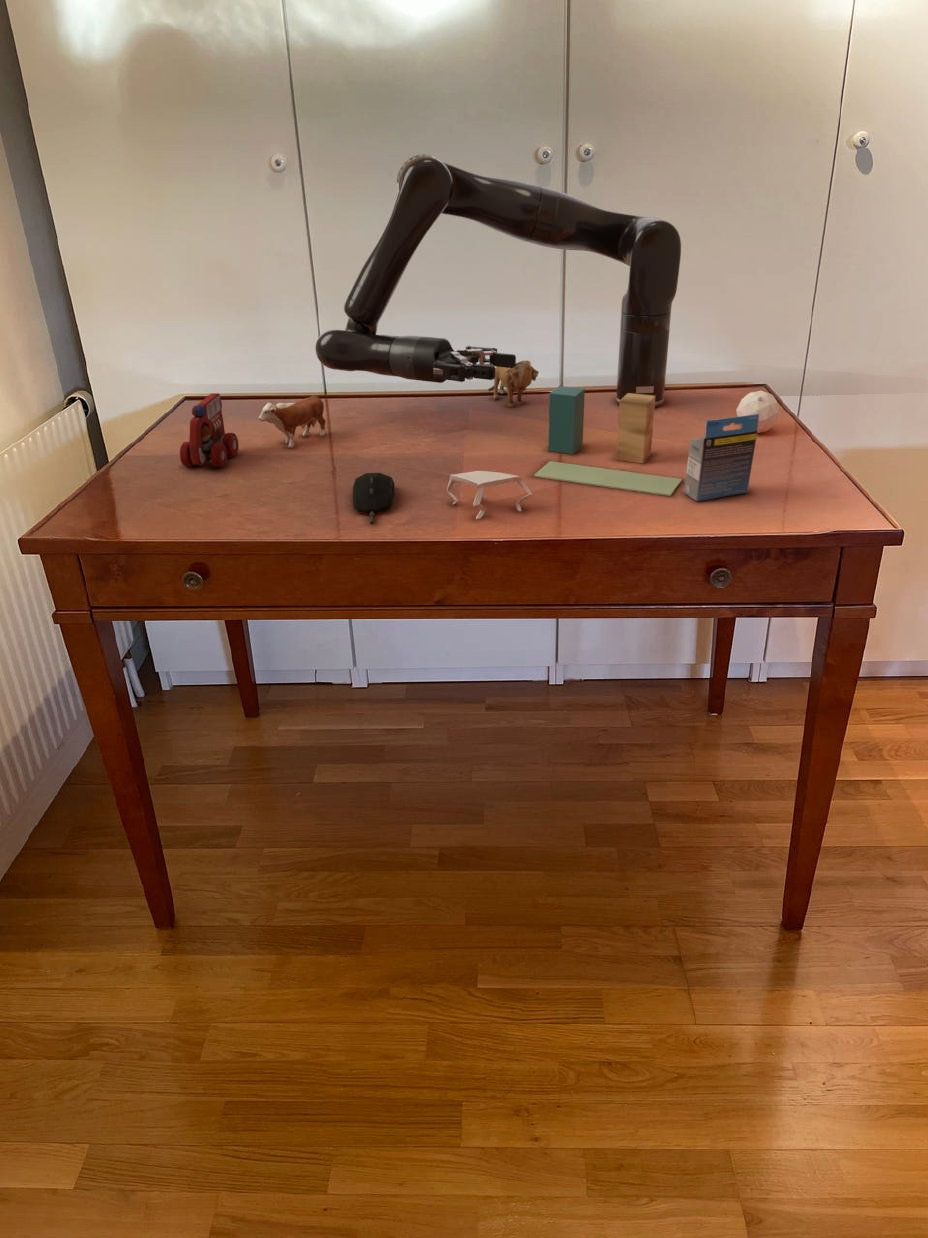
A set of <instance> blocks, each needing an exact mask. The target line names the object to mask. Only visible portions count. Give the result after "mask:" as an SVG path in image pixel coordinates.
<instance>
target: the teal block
mask: <svg viewBox="0 0 928 1238" xmlns="http://www.w3.org/2000/svg"><path fill="white" fill-rule="evenodd" d="M585 395H586V389H585V388H582V387H572V386H571V387H570V386H561V385H559V386H557V387H556V388H555V389H553V390H552V391H550V392H549V396H548V397H549V398H548V401H549V403H548V447H547V450H548V452H552V453H560V454H568V455H575V454H576V453H577V452H578V451H579V450H580V449H581V448H583V446H584V445H583V444H584V423H585V422H584V420H585Z"/></svg>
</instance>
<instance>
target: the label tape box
mask: <svg viewBox="0 0 928 1238" xmlns="http://www.w3.org/2000/svg"><path fill="white" fill-rule="evenodd" d="M758 419H759V414H754V415H747V416H739V417H737V416H732V417H723V418H715V419H706V420H705V421H704V422H705V430H704V437H702V438H696V439H692V440H690V441H689V447H688V456H687V465H686V473H685V480H684V481H685V482H684V488H683V489H684V490H683V493H684V494H686V495H687V496H688V497H689V498H690V499H692V500H693V501H695V502H701V501H709V500H714V499H719V498H725V497H731V496H737V495H741V494H747V493H748V490H749V485H750V478H751V473H752V467H753V462H754V456H755V448H756V442H757V438H758V433H757V428H758ZM732 424H733V425H734V426H740V427H739V428H734V429H725V430H724V427H729V426H731V425H732Z"/></svg>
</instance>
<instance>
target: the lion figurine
mask: <svg viewBox="0 0 928 1238" xmlns="http://www.w3.org/2000/svg"><path fill="white" fill-rule="evenodd" d="M539 374H540V372H539V371H538V370H537V369H535V368H534V366H532V365H531V361H530V360H527V359H526V360H521V361H518V362H516V366H515V367H513V368H506V367H496V366H495V379H493V380H494V382H493V383H494V384H493V386H491V387H489V388H488V389H487V390H488V392H491V391H493V397H492V398H493V400H499V399H500V397H499V395H498V392H499V393H500V394H501V395H505V394H506V392H507V401H508V403H507V407H508V408H513V407H515V402H514V393H517V395H516V402H517V404H518V405H524V404H525V401H524V400H522V396H523V392H524V391H526V390H527V387H529V386H530V385H531V384H532V381H533V382H536V380H537V377H538V376H539ZM505 389H506V390H505Z"/></svg>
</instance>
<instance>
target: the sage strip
mask: <svg viewBox="0 0 928 1238" xmlns="http://www.w3.org/2000/svg"><path fill="white" fill-rule="evenodd" d="M533 478H538V479H544V480H545V479H547V480H554V481H559V482H560V481H561V482H568V483H575V484H579V485H580V484H581V485H587V486H588V485H589V486H593V487H594V486H595V487H600V488H601V487H603V488H609V489H614V490H615V489H616V490H621V491H630V492H637V493H643V494H650V495H658V496H664V497H672V495H673V494H674V492H675V491H676V490H677V488H678V487H679V486H680V484H681V483H682V482H683V478H678V477H670V476H663V475H655V474H649V473H642V472H641V473H640V472H634V471H626V470H620V469H611V468H605V467H598V466H597V467H596V466H588V465H581V464H574V463H567V462H560V461H559V462H558V461H553V460H550V461H548V462H547V463H546V464H545V465H544V466H543V467H541V468H540V469H539V470H538V471H537V472H536V473H534V474H533Z"/></svg>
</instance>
